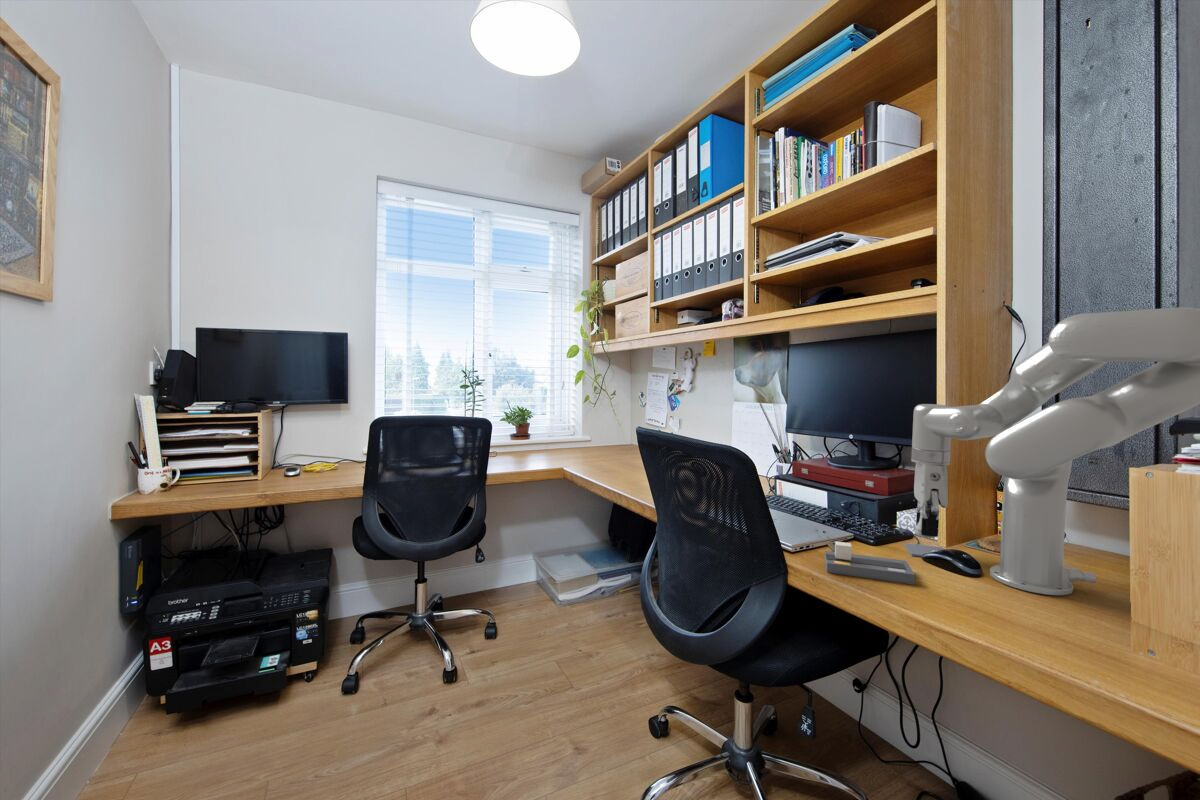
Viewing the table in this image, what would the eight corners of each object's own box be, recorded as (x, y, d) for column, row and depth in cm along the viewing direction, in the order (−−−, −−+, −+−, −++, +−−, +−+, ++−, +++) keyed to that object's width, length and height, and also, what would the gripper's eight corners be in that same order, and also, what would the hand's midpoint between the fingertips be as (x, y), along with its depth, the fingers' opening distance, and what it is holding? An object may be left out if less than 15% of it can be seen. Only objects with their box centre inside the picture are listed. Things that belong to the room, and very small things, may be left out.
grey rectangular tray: (905, 569, 104) (906, 560, 104) (914, 584, 97) (914, 574, 96) (824, 559, 110) (824, 550, 110) (826, 572, 103) (827, 562, 102)
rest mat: (942, 549, 117) (942, 547, 117) (952, 560, 109) (952, 558, 109) (904, 544, 120) (904, 542, 120) (911, 555, 112) (911, 553, 112)
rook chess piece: (917, 530, 118) (919, 498, 117) (939, 535, 114) (940, 502, 114) (911, 534, 115) (913, 501, 114) (933, 539, 111) (935, 505, 111)
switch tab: (849, 556, 105) (850, 543, 105) (851, 560, 103) (851, 546, 103) (834, 554, 107) (835, 541, 106) (835, 558, 104) (836, 544, 104)
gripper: (961, 463, 104) (956, 546, 105) (939, 452, 120) (935, 524, 121) (920, 461, 107) (916, 541, 108) (904, 450, 123) (901, 520, 124)
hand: (926, 531), depth 114 cm, fingers closed on rook chess piece, 4 cm apart
